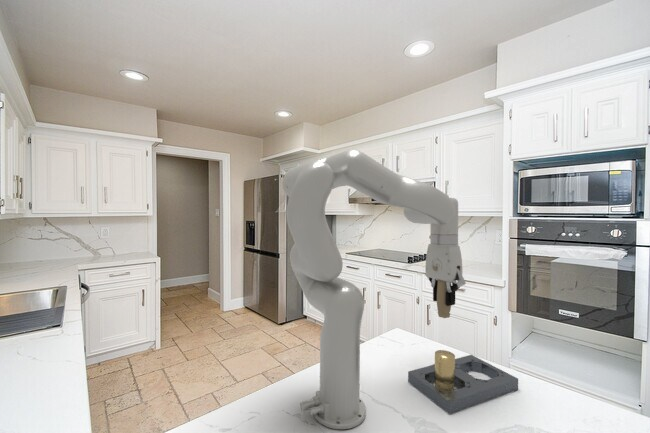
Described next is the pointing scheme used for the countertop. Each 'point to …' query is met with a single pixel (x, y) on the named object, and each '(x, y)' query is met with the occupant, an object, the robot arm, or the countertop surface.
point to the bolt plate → (464, 384)
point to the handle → (442, 298)
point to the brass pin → (445, 370)
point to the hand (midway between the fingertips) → (443, 302)
